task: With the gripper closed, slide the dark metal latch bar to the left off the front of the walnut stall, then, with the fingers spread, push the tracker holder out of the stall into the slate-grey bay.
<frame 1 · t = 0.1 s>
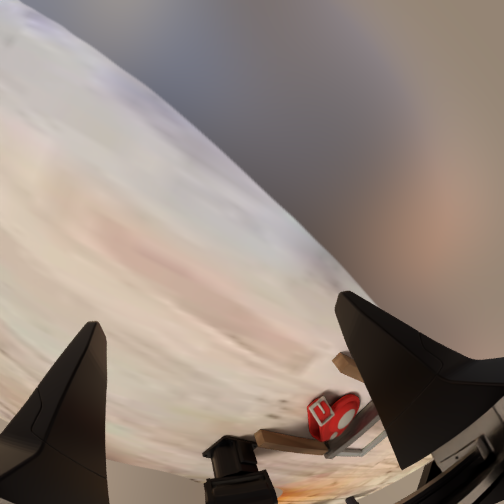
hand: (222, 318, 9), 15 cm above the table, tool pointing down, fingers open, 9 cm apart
latch bar: (362, 423, 38), point 2 cm above the table, slide at 0.0 cm
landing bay: (378, 421, 43), on the table
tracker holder: (328, 406, 37), on the table
two-way radio: (350, 497, 63), on the table
stall: (327, 408, 36), on the table
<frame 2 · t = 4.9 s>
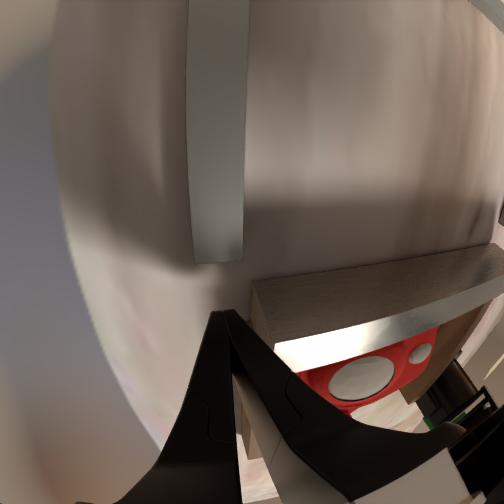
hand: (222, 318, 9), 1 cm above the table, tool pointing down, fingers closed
latch bar: (434, 289, 12), point 2 cm above the table, slide at 0.3 cm, touching gripper
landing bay: (451, 108, 8), on the table
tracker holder: (337, 357, 17), on the table
stall: (363, 368, 18), on the table
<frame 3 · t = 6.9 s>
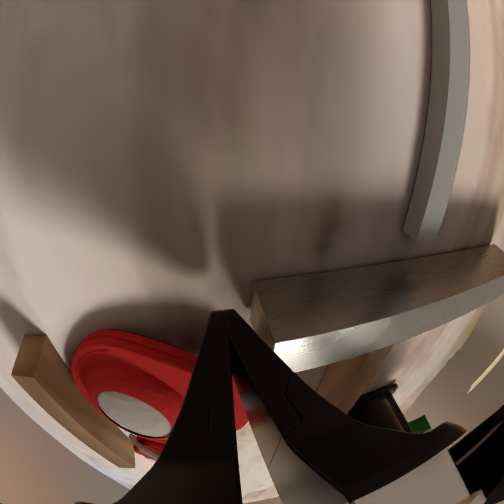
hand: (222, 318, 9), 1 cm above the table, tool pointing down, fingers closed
latch bar: (434, 290, 12), point 2 cm above the table, slide at 11.3 cm, touching gripper
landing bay: (178, 62, 6), on the table
milk carton: (406, 425, 45), on the table
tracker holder: (148, 383, 14), on the table
stall: (210, 403, 15), on the table
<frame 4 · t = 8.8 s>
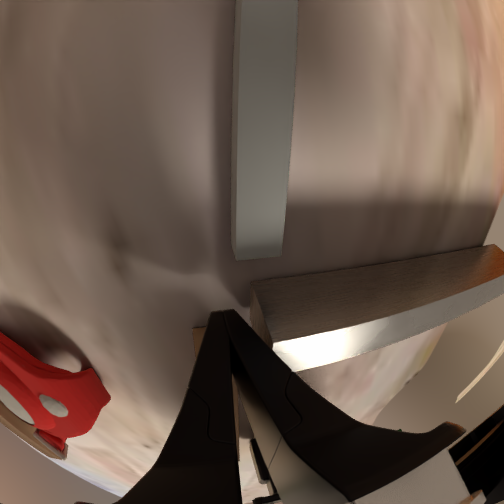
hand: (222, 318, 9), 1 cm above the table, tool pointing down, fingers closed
latch bar: (433, 290, 12), point 2 cm above the table, slide at 18.9 cm, touching gripper
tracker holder: (38, 378, 12), on the table
stall: (98, 408, 14), on the table
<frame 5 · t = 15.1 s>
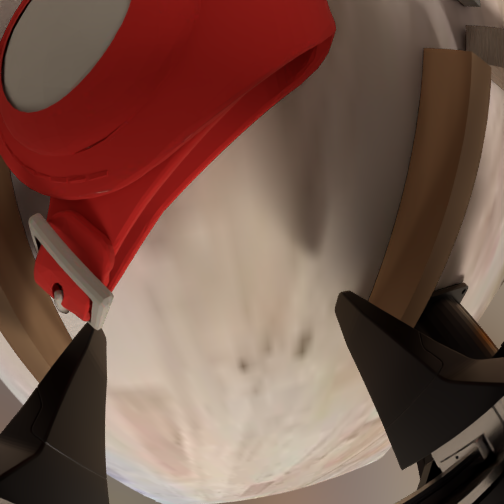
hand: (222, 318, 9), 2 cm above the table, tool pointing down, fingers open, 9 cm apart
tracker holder: (106, 98, 7), on the table, touching gripper
stall: (221, 221, 9), on the table
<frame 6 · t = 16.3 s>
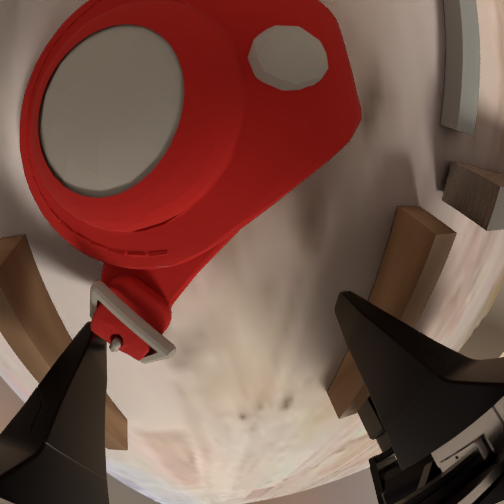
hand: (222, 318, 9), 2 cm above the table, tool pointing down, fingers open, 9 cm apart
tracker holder: (143, 158, 8), on the table, touching gripper
stall: (225, 353, 13), on the table
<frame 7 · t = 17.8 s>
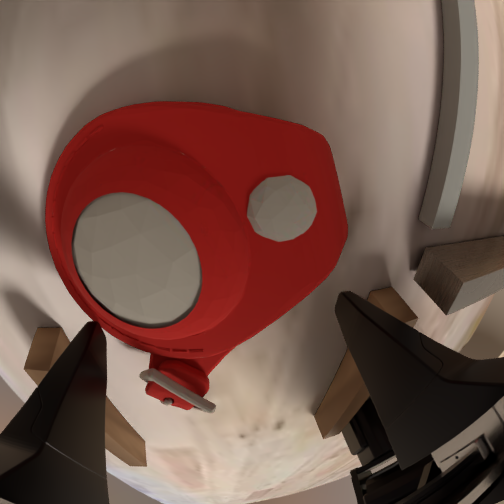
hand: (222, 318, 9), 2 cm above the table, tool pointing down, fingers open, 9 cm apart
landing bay: (215, 48, 6), on the table
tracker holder: (165, 258, 10), on the table
stall: (226, 397, 16), on the table
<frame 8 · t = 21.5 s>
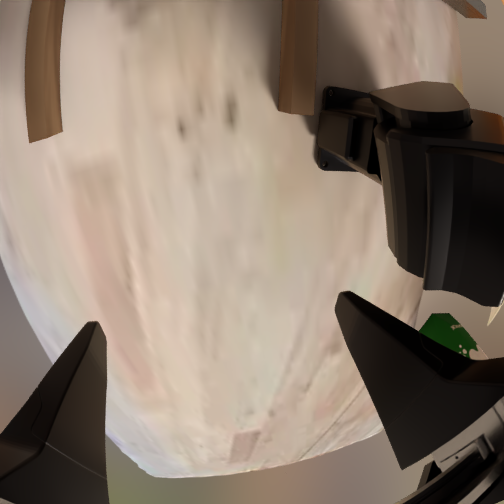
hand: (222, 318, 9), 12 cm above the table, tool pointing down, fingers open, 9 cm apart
milk carton: (429, 327, 41), on the table
stall: (167, 10, 12), on the table
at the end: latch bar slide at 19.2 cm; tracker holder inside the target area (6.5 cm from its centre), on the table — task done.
